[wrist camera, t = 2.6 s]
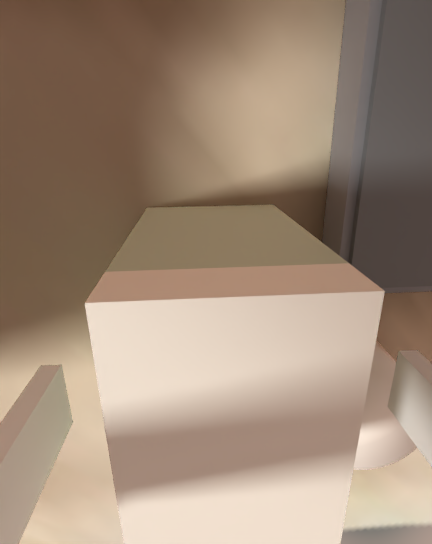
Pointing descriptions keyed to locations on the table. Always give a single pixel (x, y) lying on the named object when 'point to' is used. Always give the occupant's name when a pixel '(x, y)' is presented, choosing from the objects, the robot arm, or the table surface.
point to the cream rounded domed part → (381, 419)
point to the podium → (383, 145)
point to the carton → (231, 377)
